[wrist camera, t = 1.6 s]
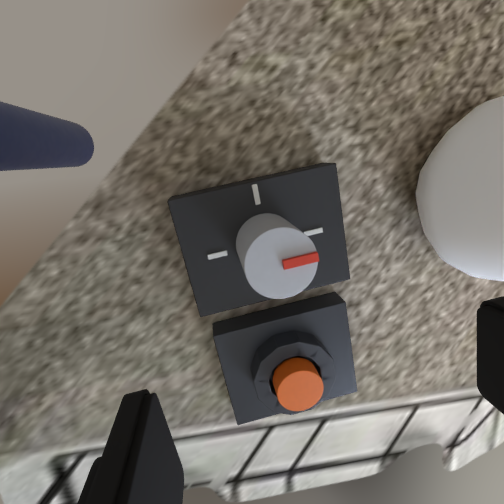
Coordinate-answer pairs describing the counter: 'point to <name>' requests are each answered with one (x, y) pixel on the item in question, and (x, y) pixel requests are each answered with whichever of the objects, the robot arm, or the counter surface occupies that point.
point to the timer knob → (276, 256)
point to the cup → (467, 193)
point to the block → (284, 352)
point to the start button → (297, 384)
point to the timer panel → (242, 209)
